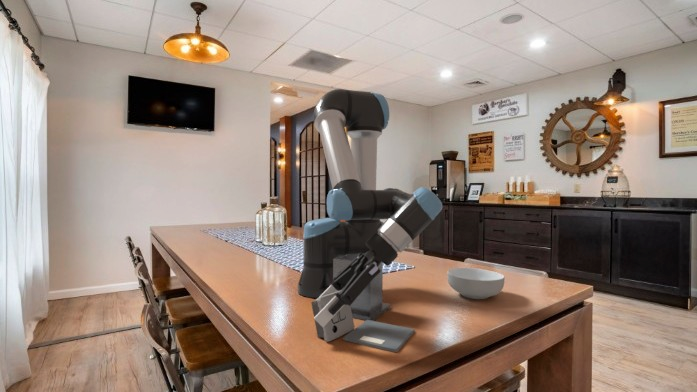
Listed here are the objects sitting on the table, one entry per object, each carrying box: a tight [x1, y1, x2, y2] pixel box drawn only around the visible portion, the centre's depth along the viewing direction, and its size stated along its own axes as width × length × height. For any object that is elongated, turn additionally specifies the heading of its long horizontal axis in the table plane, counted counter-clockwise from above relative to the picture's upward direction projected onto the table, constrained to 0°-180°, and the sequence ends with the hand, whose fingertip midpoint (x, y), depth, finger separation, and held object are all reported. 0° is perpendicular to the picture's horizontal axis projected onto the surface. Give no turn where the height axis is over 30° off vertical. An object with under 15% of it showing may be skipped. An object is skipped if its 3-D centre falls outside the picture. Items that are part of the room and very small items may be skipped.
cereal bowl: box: [446, 267, 505, 300], centre depth 109 cm, size 17×17×7 cm
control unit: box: [333, 254, 391, 321], centre depth 94 cm, size 14×12×14 cm
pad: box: [343, 320, 415, 353], centre depth 77 cm, size 12×12×1 cm
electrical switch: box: [310, 290, 355, 342], centre depth 79 cm, size 9×5×9 cm, turn 141°
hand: (317, 315), depth 78 cm, fingers closed on electrical switch, 8 cm apart
